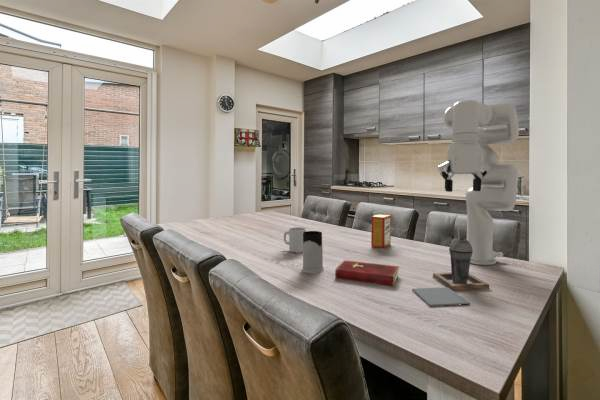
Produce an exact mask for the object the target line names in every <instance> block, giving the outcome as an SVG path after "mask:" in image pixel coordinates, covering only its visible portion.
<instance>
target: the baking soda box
mask: <svg viewBox="0 0 600 400" xmlns="http://www.w3.org/2000/svg"><path fill="white" fill-rule="evenodd" d="M391 223H392V215H391V214H380V213H378V214H374V215H373V216H371V239H370V240H371V242H370V243H371V246H370V247H372V248H377V249H385V248H386V249H387V248H388V247H389V246H391V242H392V241H391V238H392V237H391V235H392V232H391V230H392V226H391V225H392V224H391Z"/></svg>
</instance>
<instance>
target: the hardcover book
mask: <svg viewBox="0 0 600 400" xmlns="http://www.w3.org/2000/svg"><path fill="white" fill-rule="evenodd" d="M399 270H400V265H399V266H398V265H390V264H379V263H371V262H365V261H355V260H345V259H344V260H343V261H342V262H341V263H340V264H339V265H338V266H336V268H335V271H334V273H335V274H334V278H335V279H339V280H345V281H352V282H353V281H354V282H361V283H367V284H368V283H369V284H375V285H382V286H386V287H387V286H389V287H395V285H396V284H395V283H396V281H397V278H398V276H399Z"/></svg>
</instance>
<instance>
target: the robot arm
mask: <svg viewBox="0 0 600 400" xmlns="http://www.w3.org/2000/svg"><path fill="white" fill-rule="evenodd" d="M443 123H444V124H445V126H446V127H447V128H448V129H452V132H451V134H452V135H451V143H449V144H448V149H447V152H446V160H445V162H444V163H442V164H440V165H438V166H437V170H438V173H439V175H440V176H441V177H442V178H443V180H444V190H445V192H447V193H448V192H449V193H451V192H453V183H454V181H453V177H454V176H455V175H459V174H460V175H462V174H463V175H464V174H465V175H467V174H468V175H472V176H473V179H472V187H470V188H469V189H468V190H466V193H465V202H466V203H465V204H466V213H467V214H466V215H467V217H466V218H467V219H466V220H467V222H466V223H467V224H466V226H467V227H466V240H467V241H468V242H469V243H470V244H471V246H472V250H473V252H472V256H471V260H470V264H474V265H478V266H492V265H495V264H497V260H496V258H500V257H501V258H503V257H504V253H503V252H502V251H500V252H499V251H498V252H496V251H494V250H493V243H494V242H493V241H494V240H493V239H494V219H493V217H492V215H491V214H490V213H489V211H501V212H504V211H505V212H508V211H509V212H510V211H513V210H514V209H515V206H516V201H517V194H518V192H517V191H518V183H519V170H518V168H517V166H516V165H515V164H511V163H510V164H509V163H500V164H499V161H500V156H499V153H498V152H497V151H496V150H495V149H494V148H493V147H491V146H490V145H498V144H499V145H501V144H502V145H503V144H512V143H514V142H516V141H517V140H518V138H519V134H520V128H519V121H518V113H517V109H516V107H515V105H514V104H513V103H511V102H502V103H494V104H486V103H484V102H479V101H477V100H473V99H467V100H465V99H464V100H460V101H457V102H455V103H454V104H453V106H450V107H448V108H446V110H445V111H444V114H443Z"/></svg>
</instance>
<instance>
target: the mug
mask: <svg viewBox="0 0 600 400" xmlns="http://www.w3.org/2000/svg"><path fill="white" fill-rule="evenodd" d="M306 231H307V228H306V227H298V226H297V227H296V226H295V227H290V228H288V230H286V231H284V233H283V242H284V244H286V245H288V246H289V247H288V249H289V252H290V251H291V252H290V253H292V252H296V253H295V254H301V253H300V252H303V232H306ZM287 235H288V241H287Z"/></svg>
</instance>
